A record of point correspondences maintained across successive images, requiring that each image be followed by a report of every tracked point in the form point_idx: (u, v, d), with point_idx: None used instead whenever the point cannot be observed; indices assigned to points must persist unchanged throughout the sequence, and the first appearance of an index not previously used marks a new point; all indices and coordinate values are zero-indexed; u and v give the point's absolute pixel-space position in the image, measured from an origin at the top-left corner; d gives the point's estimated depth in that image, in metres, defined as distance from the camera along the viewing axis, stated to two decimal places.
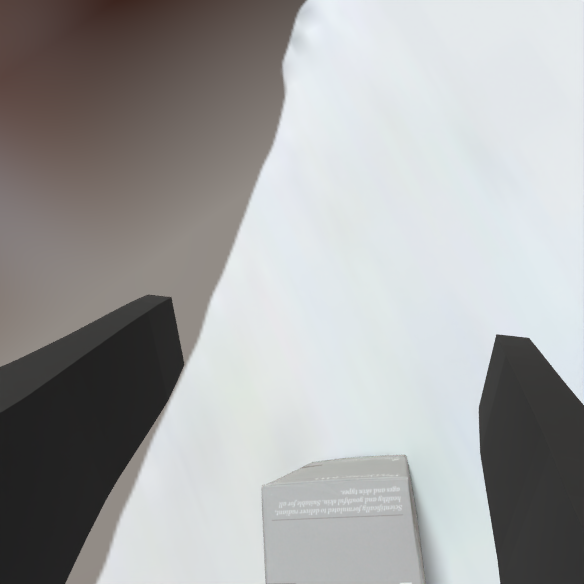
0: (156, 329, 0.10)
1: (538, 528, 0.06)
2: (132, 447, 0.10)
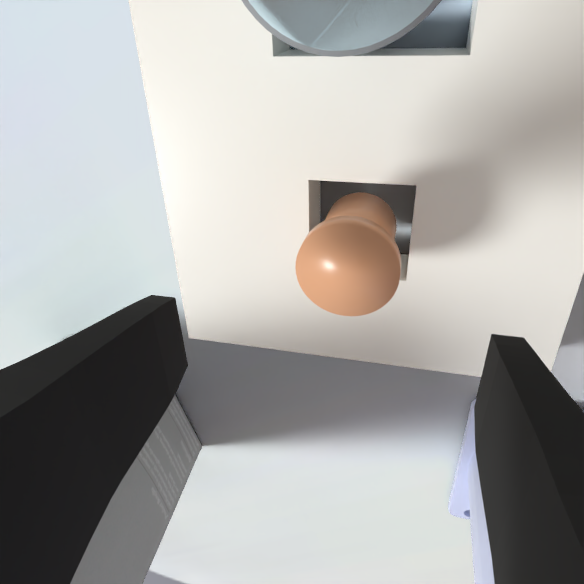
0: (160, 330, 0.10)
1: (530, 526, 0.06)
2: (136, 448, 0.10)
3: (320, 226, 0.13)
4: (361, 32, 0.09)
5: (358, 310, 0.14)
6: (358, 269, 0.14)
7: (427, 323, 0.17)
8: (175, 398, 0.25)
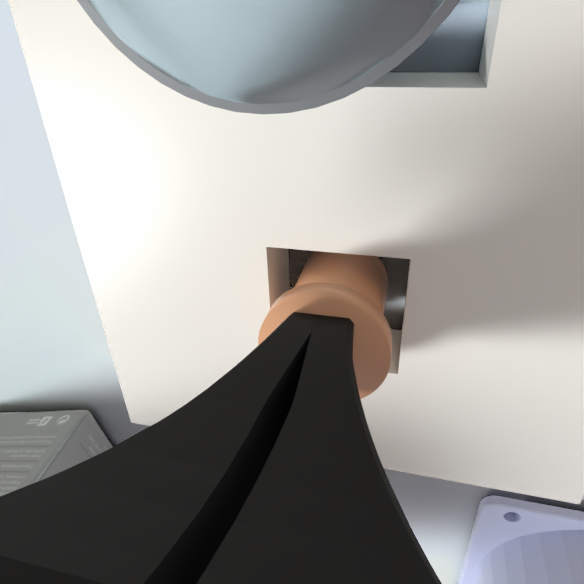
0: None
1: None
2: None
3: (288, 296, 0.10)
4: (300, 73, 0.05)
5: None
6: None
7: (425, 424, 0.13)
8: None
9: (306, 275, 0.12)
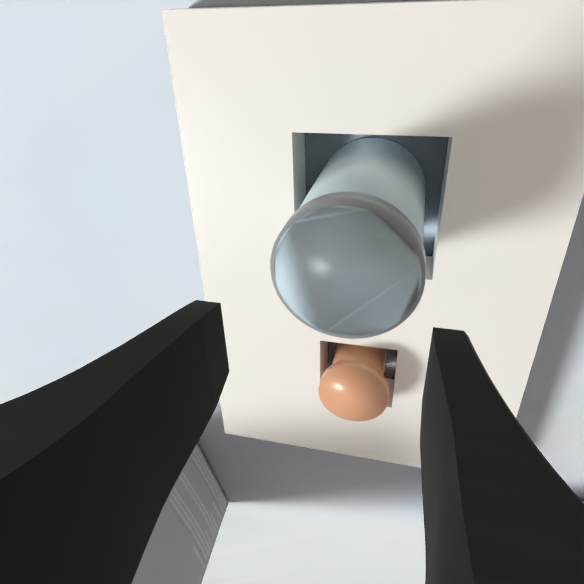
0: (207, 336, 0.10)
1: (444, 510, 0.07)
2: (184, 457, 0.10)
3: (335, 367, 0.20)
4: (356, 329, 0.14)
5: (360, 418, 0.21)
6: (360, 394, 0.21)
7: (408, 435, 0.23)
8: (208, 467, 0.31)
9: (342, 351, 0.22)
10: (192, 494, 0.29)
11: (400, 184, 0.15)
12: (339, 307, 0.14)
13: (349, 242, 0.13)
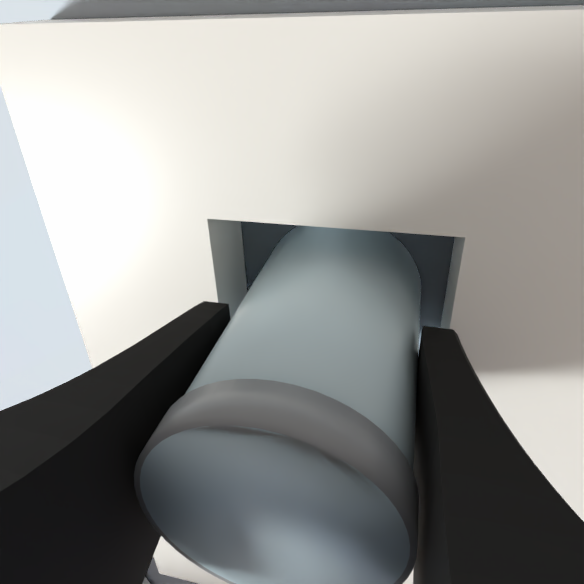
0: (216, 337, 0.10)
1: (429, 506, 0.07)
2: None
3: None
4: None
5: None
6: None
7: None
8: None
9: None
10: None
11: (375, 330, 0.09)
12: (263, 562, 0.08)
13: (269, 481, 0.07)
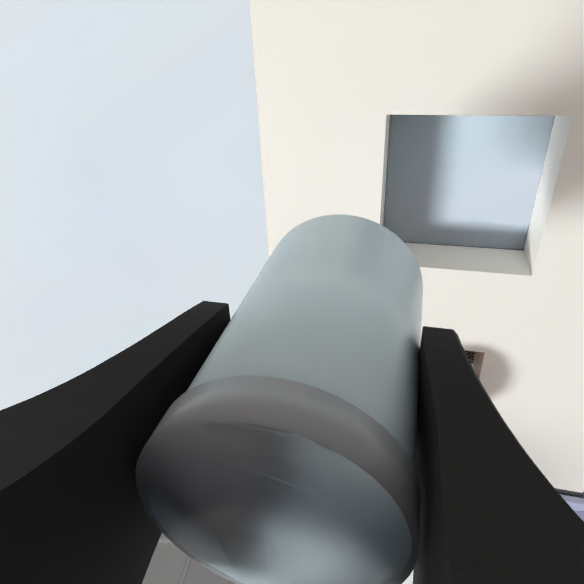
0: (215, 337, 0.10)
1: (429, 507, 0.07)
2: None
3: None
4: None
5: None
6: None
7: None
8: None
9: None
10: None
11: (377, 328, 0.09)
12: (263, 560, 0.08)
13: (271, 478, 0.07)
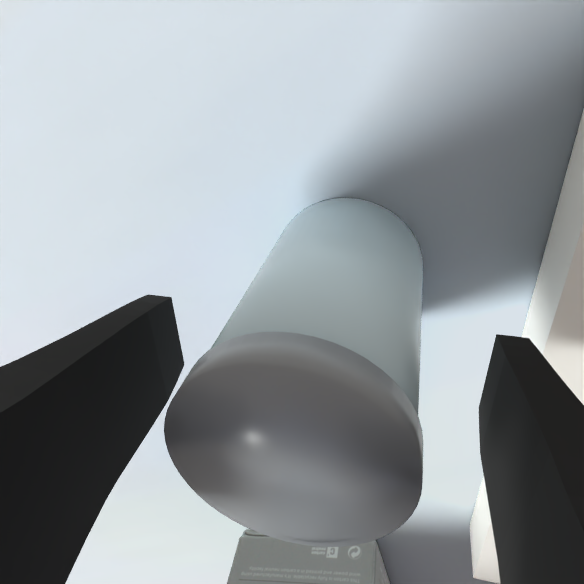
0: (156, 329, 0.10)
1: (538, 528, 0.06)
2: (132, 447, 0.10)
3: None
4: (308, 534, 0.09)
5: None
6: None
7: None
8: None
9: None
10: None
11: (384, 297, 0.09)
12: (279, 503, 0.09)
13: (291, 423, 0.07)
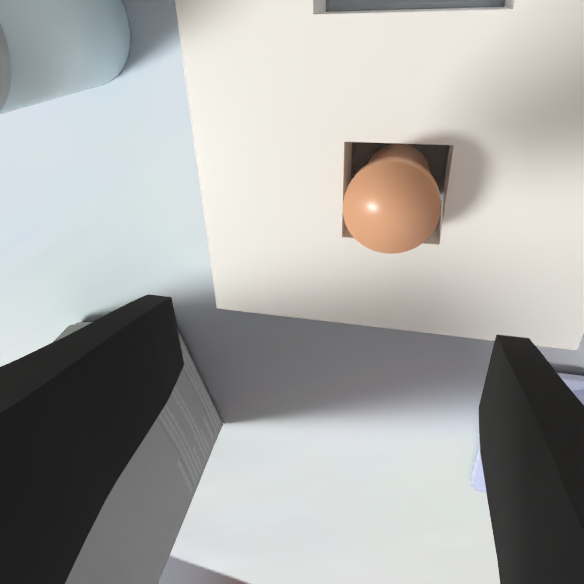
0: (156, 329, 0.10)
1: (538, 528, 0.06)
2: (132, 447, 0.10)
3: (367, 167, 0.15)
4: None
5: (399, 247, 0.16)
6: (401, 207, 0.15)
7: (459, 288, 0.17)
8: (198, 374, 0.25)
9: None
10: (176, 398, 0.23)
11: None
12: None
13: None
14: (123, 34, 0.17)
